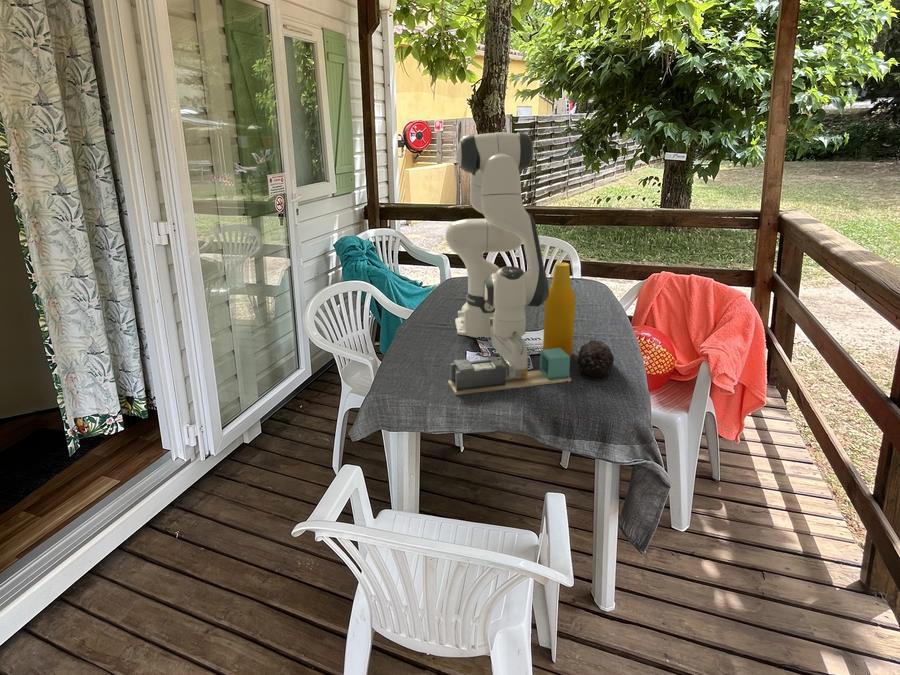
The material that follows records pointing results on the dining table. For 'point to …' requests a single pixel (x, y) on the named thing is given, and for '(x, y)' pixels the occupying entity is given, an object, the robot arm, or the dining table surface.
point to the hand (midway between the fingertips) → (508, 372)
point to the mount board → (515, 383)
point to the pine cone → (595, 360)
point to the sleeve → (477, 374)
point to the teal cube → (554, 363)
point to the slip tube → (488, 365)
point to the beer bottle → (559, 311)
